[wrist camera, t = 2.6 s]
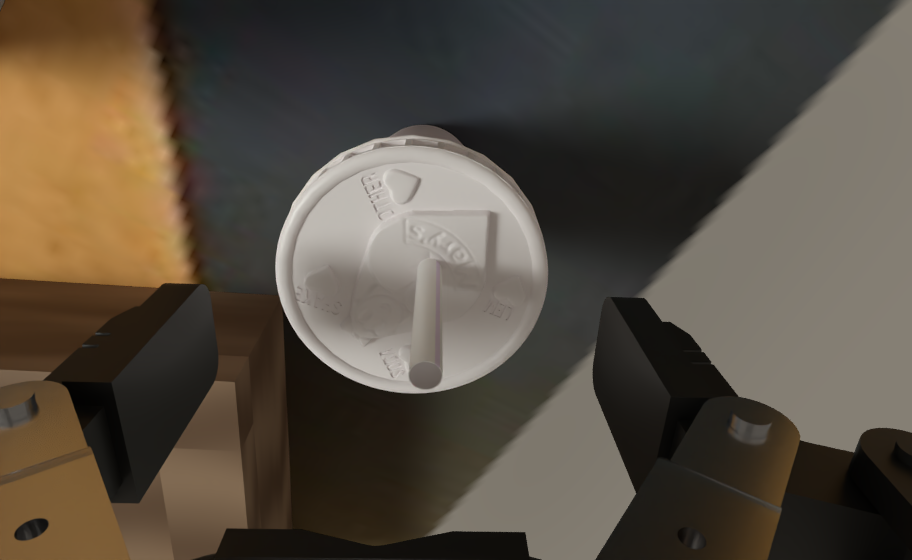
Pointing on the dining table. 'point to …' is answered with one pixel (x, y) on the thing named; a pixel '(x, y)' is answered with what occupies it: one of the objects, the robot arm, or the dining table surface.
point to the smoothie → (412, 263)
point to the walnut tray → (211, 428)
